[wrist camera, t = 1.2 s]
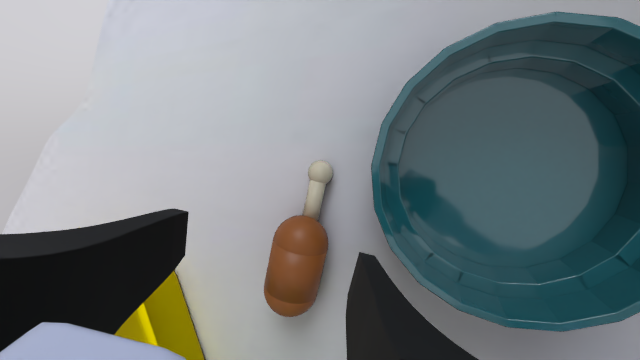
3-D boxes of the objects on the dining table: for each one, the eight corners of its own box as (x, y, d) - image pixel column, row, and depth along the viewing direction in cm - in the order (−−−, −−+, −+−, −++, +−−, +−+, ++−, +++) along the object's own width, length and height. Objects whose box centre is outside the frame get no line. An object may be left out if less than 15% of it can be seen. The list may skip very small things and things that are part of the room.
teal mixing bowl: (594, 316, 19) (658, 380, 14) (361, 242, 23) (344, 270, 18) (697, 70, 17) (823, 36, 11) (414, 34, 21) (412, -3, 15)
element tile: (171, 254, 29) (125, 274, 24) (222, 406, 29) (186, 454, 25) (69, 284, 34) (14, 305, 29) (113, 414, 34) (65, 456, 29)
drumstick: (318, 307, 25) (300, 337, 21) (274, 290, 26) (249, 315, 22) (351, 166, 23) (338, 171, 19) (302, 154, 24) (280, 155, 20)
